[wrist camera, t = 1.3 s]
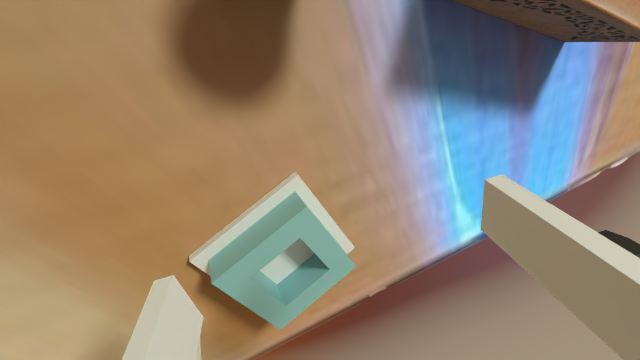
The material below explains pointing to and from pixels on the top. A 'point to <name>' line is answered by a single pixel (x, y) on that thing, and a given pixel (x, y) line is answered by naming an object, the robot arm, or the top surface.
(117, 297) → the top surface
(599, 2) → the tissue box cover
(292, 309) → the socket
